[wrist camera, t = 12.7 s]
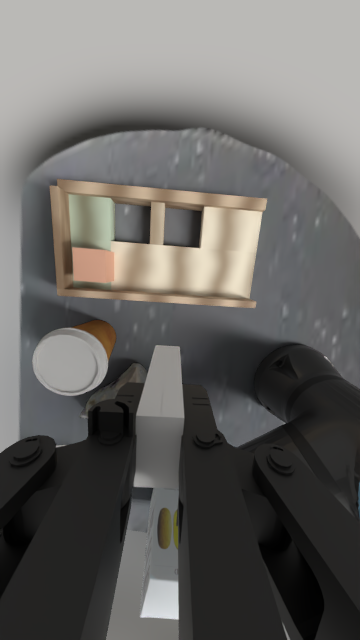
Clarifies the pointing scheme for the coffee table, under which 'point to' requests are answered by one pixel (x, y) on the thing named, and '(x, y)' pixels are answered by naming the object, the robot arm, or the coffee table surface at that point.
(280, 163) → the coffee table surface
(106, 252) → the terracotta block
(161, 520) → the supplement box
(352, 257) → the coffee table surface
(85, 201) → the box
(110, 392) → the mineral rock
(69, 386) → the disposable coffee cup
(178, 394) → the robot arm
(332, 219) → the coffee table surface
